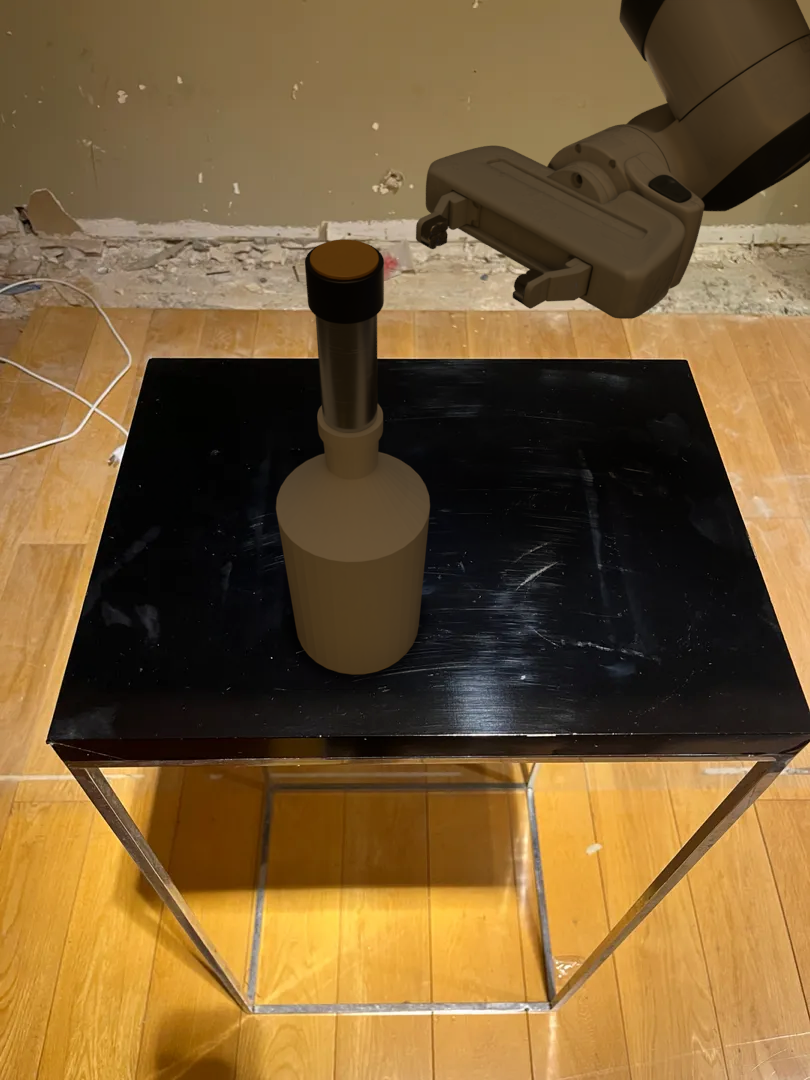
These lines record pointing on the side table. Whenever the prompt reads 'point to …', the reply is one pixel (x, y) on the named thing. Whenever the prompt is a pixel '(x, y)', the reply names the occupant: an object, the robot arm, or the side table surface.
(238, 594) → the side table surface
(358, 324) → the torch
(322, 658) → the bottle
